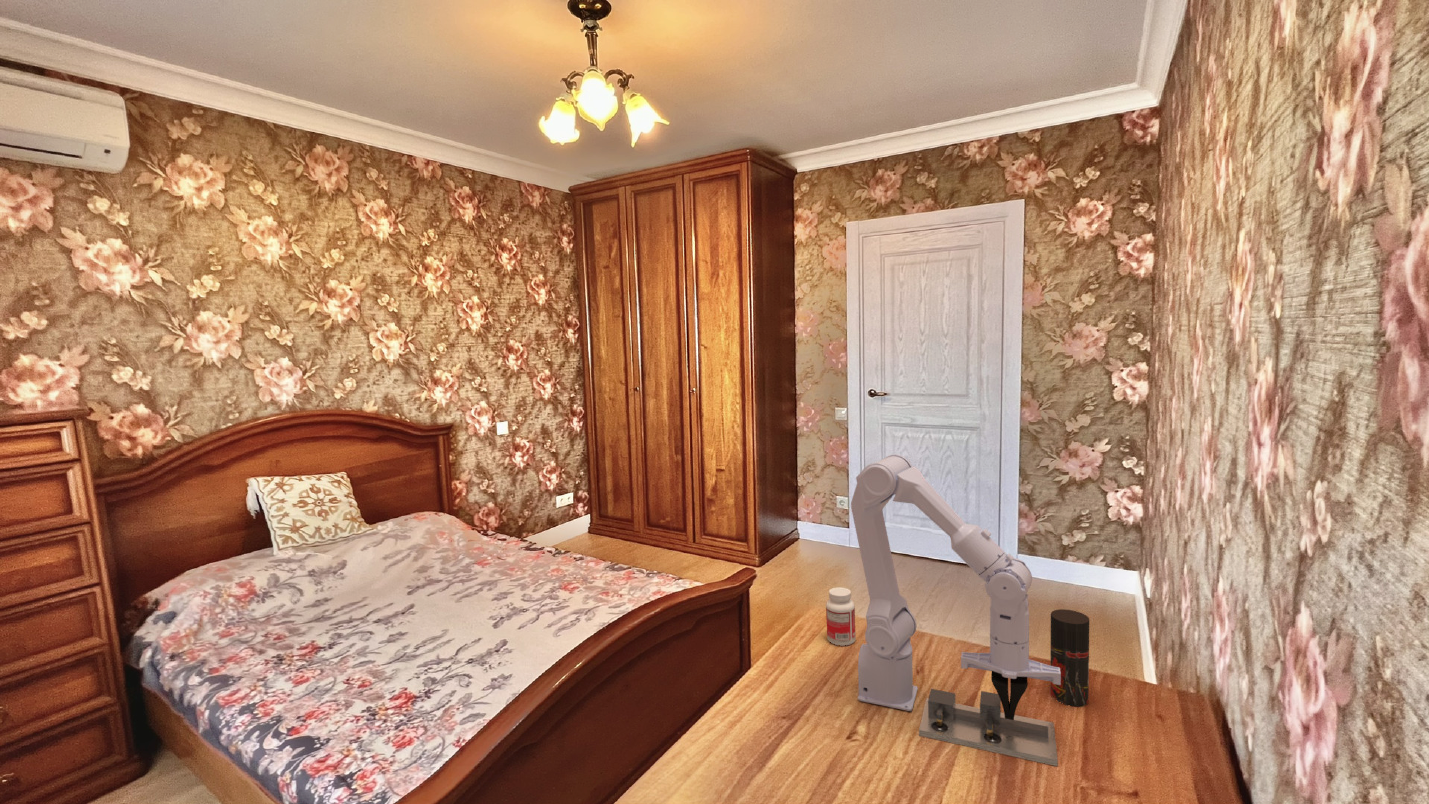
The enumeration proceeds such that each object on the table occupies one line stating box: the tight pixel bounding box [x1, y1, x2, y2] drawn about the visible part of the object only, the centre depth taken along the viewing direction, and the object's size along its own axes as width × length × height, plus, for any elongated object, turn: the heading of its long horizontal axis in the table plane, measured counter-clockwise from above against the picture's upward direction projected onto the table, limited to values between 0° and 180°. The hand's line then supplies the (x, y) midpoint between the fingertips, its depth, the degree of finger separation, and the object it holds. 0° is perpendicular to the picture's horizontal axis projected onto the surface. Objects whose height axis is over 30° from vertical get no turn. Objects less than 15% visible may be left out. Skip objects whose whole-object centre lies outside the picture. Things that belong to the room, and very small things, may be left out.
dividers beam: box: [928, 688, 1048, 738], centre depth 102 cm, size 18×6×3 cm, turn 64°
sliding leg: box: [979, 690, 1002, 737], centre depth 101 cm, size 3×6×4 cm, turn 154°
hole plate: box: [918, 697, 1059, 767], centre depth 102 cm, size 20×10×1 cm, turn 64°
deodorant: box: [1049, 608, 1090, 708], centre depth 110 cm, size 6×6×15 cm
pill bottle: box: [825, 586, 857, 647], centre depth 135 cm, size 6×6×11 cm
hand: (1009, 716), depth 101 cm, fingers closed
